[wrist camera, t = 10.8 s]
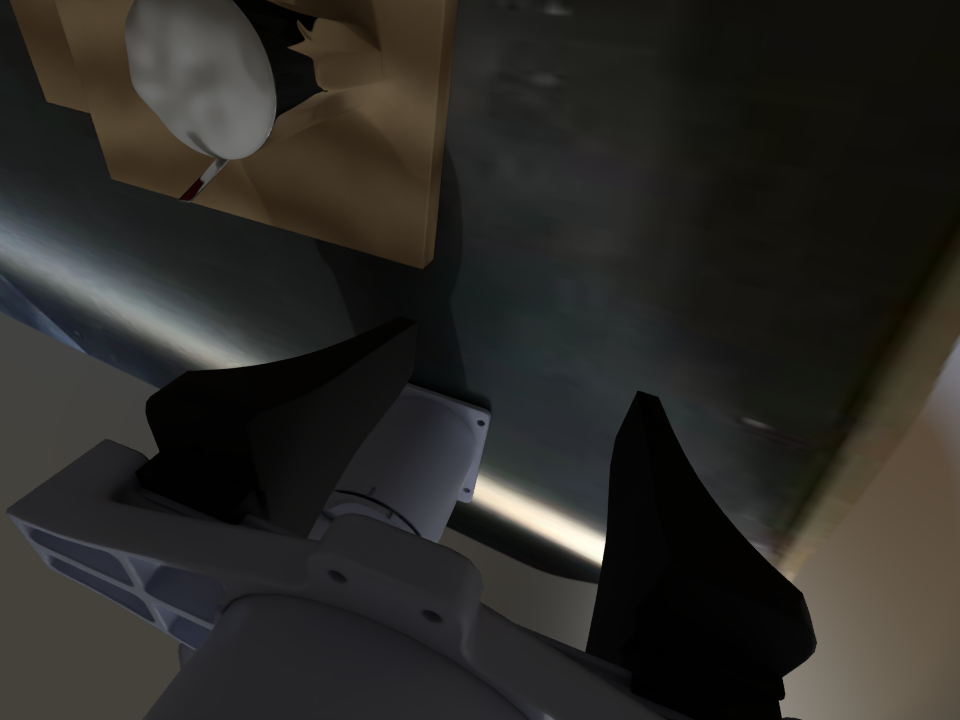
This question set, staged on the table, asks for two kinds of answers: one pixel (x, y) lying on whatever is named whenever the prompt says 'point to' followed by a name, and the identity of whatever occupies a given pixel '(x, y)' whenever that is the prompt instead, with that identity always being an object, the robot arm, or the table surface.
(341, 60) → the milkshake
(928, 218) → the table surface
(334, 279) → the table surface
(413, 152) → the board
